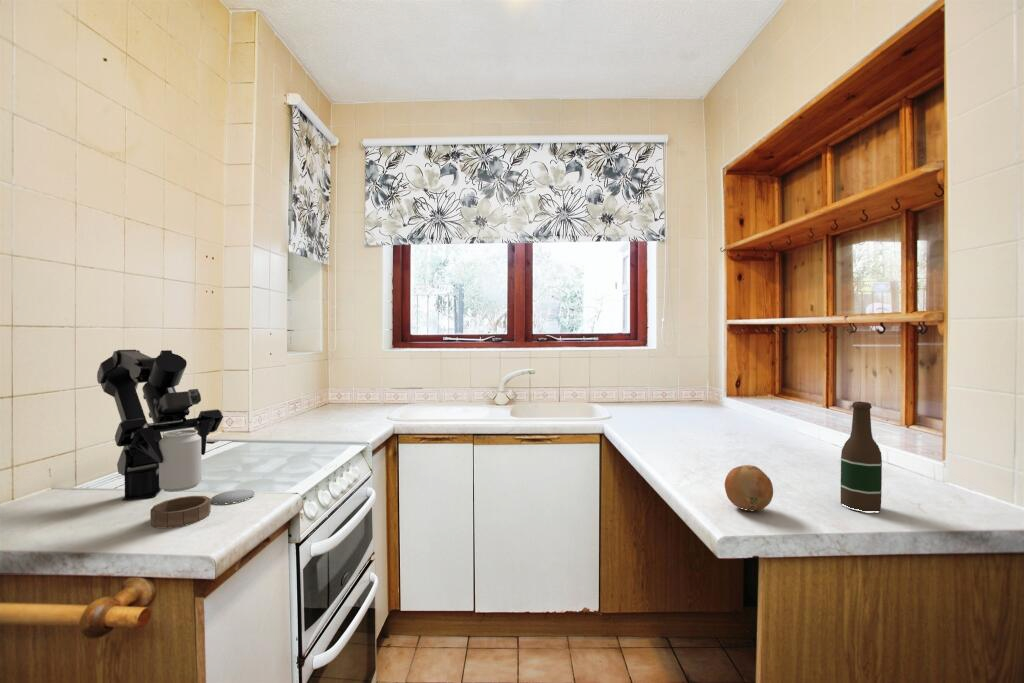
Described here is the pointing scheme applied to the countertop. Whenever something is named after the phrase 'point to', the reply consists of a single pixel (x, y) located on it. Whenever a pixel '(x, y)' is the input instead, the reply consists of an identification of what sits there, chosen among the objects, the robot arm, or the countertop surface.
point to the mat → (232, 496)
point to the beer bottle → (861, 464)
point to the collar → (180, 511)
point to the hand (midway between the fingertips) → (183, 457)
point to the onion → (748, 487)
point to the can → (180, 460)
